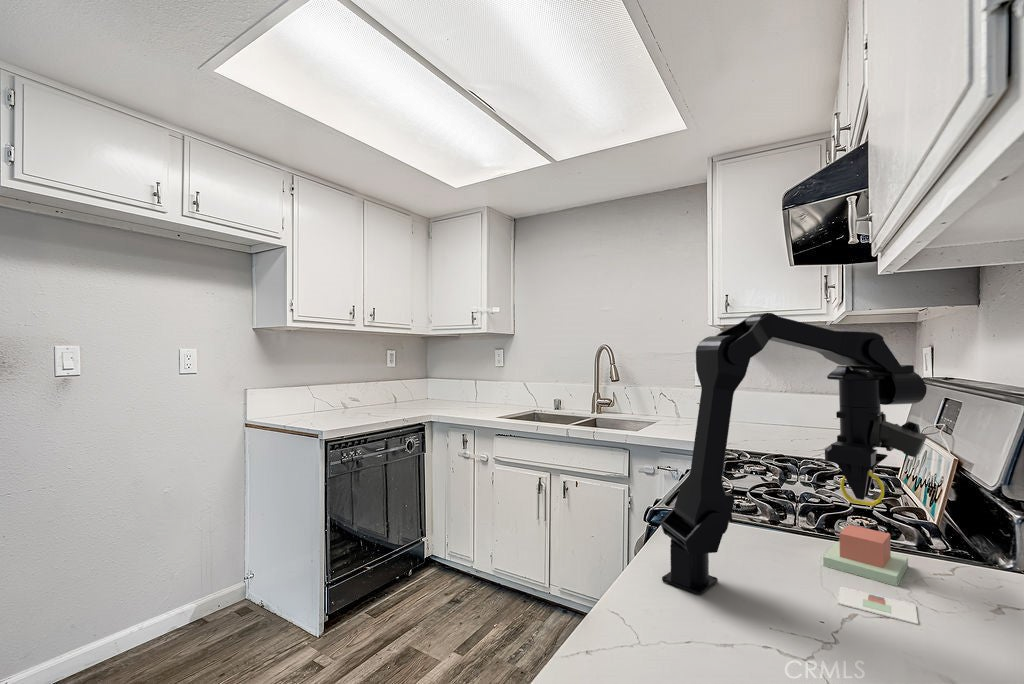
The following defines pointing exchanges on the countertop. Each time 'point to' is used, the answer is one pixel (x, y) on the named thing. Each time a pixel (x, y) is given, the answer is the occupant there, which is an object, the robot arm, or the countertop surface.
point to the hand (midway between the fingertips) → (862, 497)
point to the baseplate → (867, 566)
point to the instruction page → (878, 605)
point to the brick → (865, 545)
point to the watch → (864, 501)
